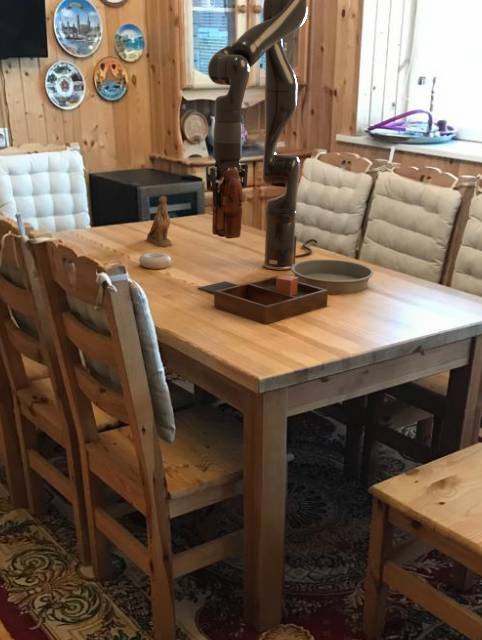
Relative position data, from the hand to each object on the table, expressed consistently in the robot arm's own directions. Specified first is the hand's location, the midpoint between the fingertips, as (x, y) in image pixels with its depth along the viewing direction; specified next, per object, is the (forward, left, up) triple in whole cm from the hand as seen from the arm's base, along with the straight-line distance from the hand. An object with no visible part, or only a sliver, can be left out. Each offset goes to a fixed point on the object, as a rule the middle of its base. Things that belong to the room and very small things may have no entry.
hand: (226, 205), depth 224 cm
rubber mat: (0, 0, -23) cm, 23 cm away
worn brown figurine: (-24, -57, -23) cm, 66 cm away
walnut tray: (+2, +20, -23) cm, 31 cm away
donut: (-2, -33, -23) cm, 41 cm away
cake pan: (-29, +16, -23) cm, 40 cm away
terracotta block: (-4, +20, -21) cm, 29 cm away
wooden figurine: (0, 0, -8) cm, 8 cm away
